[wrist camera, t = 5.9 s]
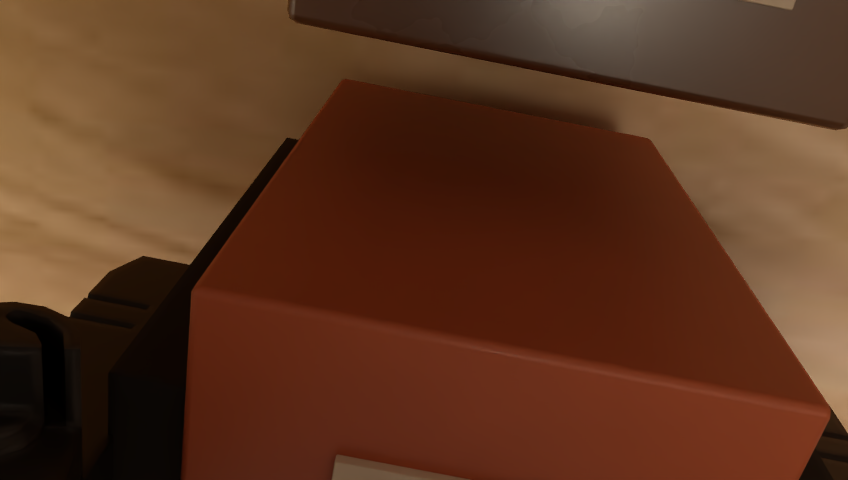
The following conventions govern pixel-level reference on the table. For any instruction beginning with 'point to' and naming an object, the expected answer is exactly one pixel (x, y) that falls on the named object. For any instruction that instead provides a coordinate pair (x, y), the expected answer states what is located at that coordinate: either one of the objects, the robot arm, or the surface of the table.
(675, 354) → the orange red block
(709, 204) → the table surface
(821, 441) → the robot arm
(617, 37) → the tile
